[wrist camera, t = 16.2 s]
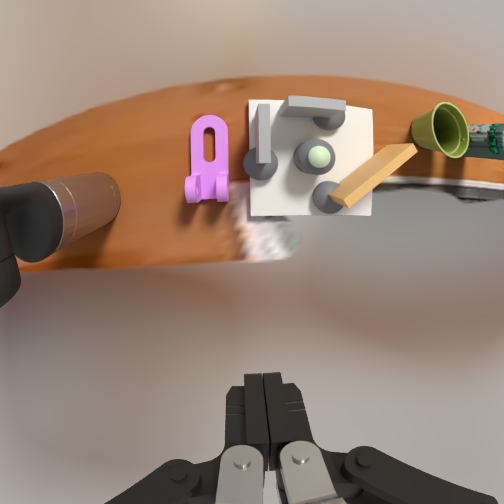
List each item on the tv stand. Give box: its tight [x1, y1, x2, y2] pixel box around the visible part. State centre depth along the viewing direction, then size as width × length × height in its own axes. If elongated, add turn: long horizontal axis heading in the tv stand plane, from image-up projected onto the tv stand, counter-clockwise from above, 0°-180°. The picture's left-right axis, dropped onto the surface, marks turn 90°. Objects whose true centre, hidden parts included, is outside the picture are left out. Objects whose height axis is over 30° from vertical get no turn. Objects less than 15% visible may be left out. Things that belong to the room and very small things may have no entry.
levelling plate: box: [243, 96, 373, 216], centre depth 37 cm, size 21×18×10 cm
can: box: [462, 124, 504, 160], centre depth 33 cm, size 6×6×15 cm
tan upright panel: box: [312, 143, 418, 214], centre depth 37 cm, size 16×5×8 cm, turn 129°
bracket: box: [185, 115, 229, 203], centre depth 38 cm, size 13×6×7 cm, turn 1°
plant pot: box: [411, 102, 469, 158], centre depth 36 cm, size 9×9×9 cm
